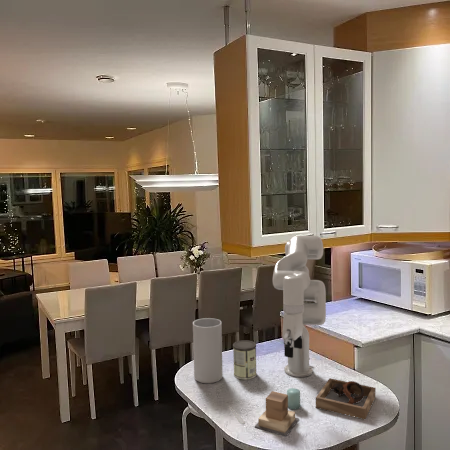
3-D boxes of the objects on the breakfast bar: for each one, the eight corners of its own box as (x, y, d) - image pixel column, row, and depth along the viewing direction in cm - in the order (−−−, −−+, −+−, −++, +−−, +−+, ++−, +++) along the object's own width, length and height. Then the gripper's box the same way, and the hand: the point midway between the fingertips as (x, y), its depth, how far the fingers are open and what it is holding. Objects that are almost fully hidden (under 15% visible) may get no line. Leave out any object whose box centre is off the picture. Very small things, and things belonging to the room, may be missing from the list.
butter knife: (238, 424, 158) (246, 422, 159) (212, 392, 183) (219, 390, 184) (238, 425, 158) (246, 423, 159) (212, 393, 183) (219, 391, 184)
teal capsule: (290, 401, 174) (290, 387, 173) (302, 405, 171) (302, 390, 170) (284, 407, 170) (284, 392, 169) (297, 410, 167) (296, 395, 166)
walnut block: (272, 409, 162) (272, 391, 162) (288, 413, 159) (287, 394, 159) (265, 417, 157) (265, 398, 156) (281, 421, 154) (281, 402, 154)
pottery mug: (360, 394, 179) (366, 382, 175) (359, 415, 172) (365, 402, 167) (330, 385, 181) (336, 372, 176) (328, 405, 174) (334, 392, 169)
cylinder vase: (201, 369, 204) (200, 316, 201) (226, 373, 199) (225, 319, 197) (189, 381, 193) (187, 325, 190) (215, 386, 188) (214, 328, 185)
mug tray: (329, 387, 185) (329, 378, 184) (375, 397, 176) (375, 387, 175) (315, 407, 169) (315, 397, 168) (365, 419, 160) (365, 409, 159)
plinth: (268, 411, 167) (268, 403, 166) (298, 419, 161) (298, 411, 160) (254, 427, 156) (254, 419, 156) (286, 436, 150) (286, 428, 150)
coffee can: (238, 368, 205) (238, 338, 204) (259, 371, 201) (259, 341, 199) (229, 377, 196) (229, 346, 194) (251, 381, 191) (251, 350, 190)
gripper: (292, 301, 175) (292, 343, 177) (275, 313, 160) (275, 358, 162) (310, 303, 172) (310, 346, 173) (294, 315, 157) (294, 362, 158)
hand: (293, 352), depth 168 cm, fingers open, 9 cm apart
